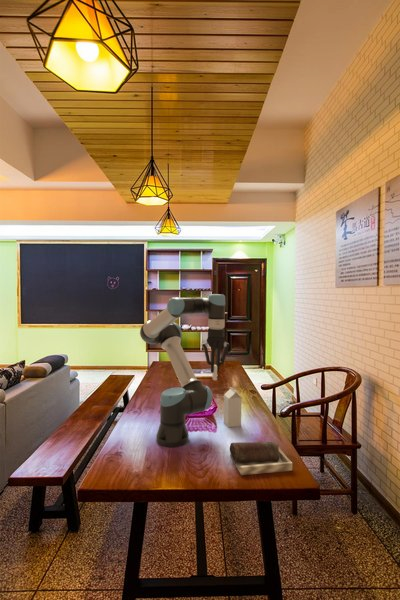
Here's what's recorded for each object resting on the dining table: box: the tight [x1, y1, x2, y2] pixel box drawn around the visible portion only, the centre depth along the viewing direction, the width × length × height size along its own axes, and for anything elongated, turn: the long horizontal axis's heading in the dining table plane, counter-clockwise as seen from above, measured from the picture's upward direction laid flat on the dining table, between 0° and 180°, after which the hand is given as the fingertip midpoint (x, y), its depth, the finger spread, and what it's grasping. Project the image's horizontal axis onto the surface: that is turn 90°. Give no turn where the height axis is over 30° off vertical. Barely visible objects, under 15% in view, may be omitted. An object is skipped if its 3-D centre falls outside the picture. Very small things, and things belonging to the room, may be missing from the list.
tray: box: [229, 446, 293, 476], centre depth 133 cm, size 21×15×3 cm
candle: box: [229, 441, 280, 463], centre depth 134 cm, size 8×7×20 cm
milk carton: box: [223, 386, 242, 428], centre depth 171 cm, size 7×7×19 cm
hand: (214, 379), depth 148 cm, fingers closed
